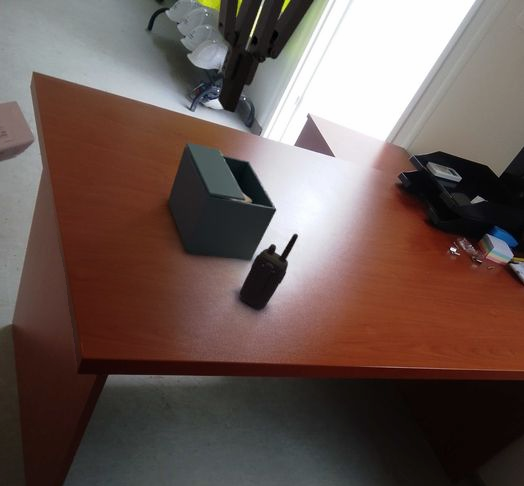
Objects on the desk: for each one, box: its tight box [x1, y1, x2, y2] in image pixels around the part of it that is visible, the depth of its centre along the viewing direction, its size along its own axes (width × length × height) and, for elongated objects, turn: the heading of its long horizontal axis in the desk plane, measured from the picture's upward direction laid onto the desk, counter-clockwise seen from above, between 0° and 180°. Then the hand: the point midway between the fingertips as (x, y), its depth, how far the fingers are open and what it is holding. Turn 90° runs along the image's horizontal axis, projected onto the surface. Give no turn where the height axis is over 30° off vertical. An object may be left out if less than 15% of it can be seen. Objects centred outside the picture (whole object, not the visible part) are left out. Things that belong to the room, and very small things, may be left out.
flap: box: [185, 142, 245, 201], centre depth 77 cm, size 6×15×1 cm, turn 23°
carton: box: [167, 145, 277, 261], centre depth 83 cm, size 13×15×12 cm
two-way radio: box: [239, 233, 299, 310], centre depth 73 cm, size 6×4×15 cm
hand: (226, 105), depth 59 cm, fingers closed
